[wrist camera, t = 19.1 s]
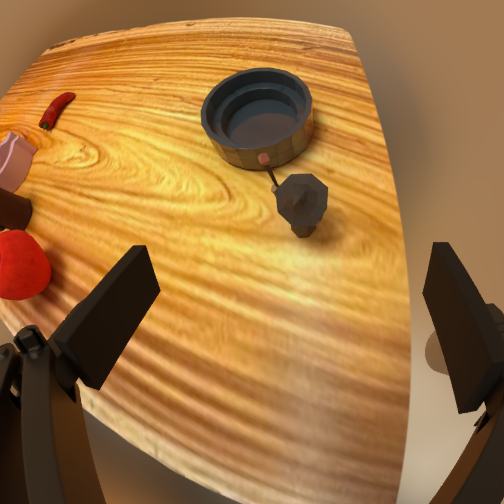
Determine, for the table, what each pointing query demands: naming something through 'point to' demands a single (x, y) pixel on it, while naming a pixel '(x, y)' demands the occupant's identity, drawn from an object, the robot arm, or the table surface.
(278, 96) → the basin
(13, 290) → the apple
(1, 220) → the sculpture
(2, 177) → the clip
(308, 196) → the wizard figurine
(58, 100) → the vegetable
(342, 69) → the table surface
